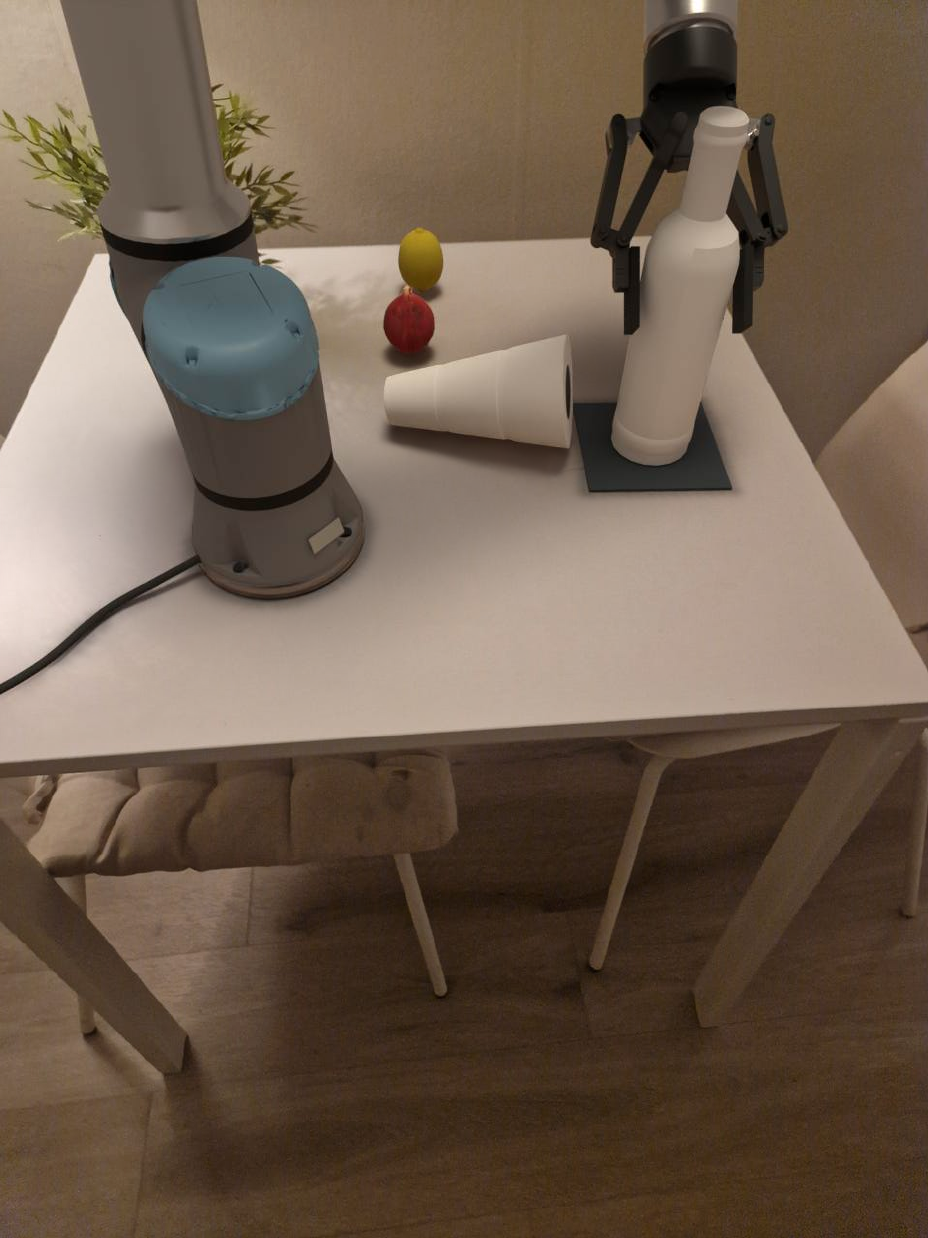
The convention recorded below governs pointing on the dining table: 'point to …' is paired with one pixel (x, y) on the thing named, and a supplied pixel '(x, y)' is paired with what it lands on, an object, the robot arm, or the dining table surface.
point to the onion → (409, 322)
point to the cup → (491, 395)
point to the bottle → (682, 300)
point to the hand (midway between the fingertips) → (686, 330)
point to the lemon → (420, 259)
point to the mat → (621, 474)
